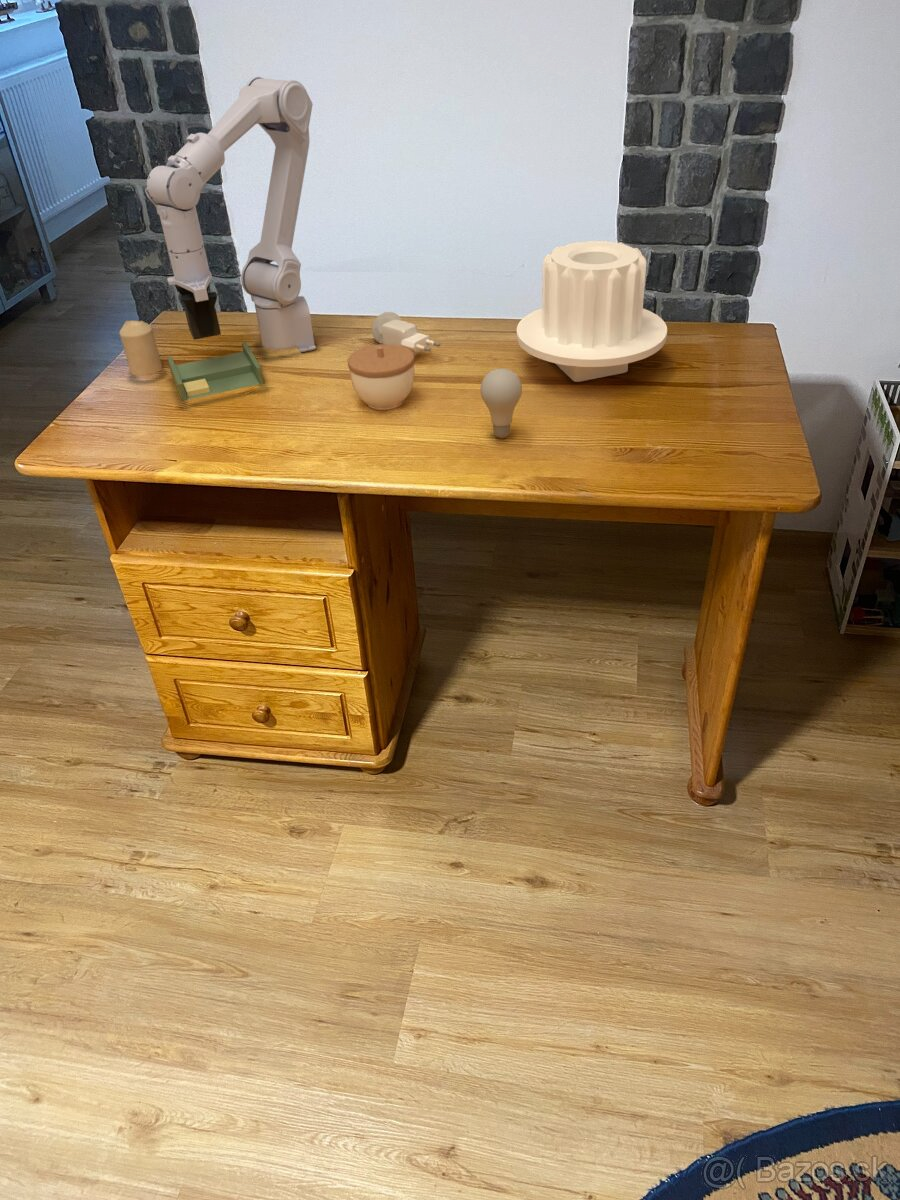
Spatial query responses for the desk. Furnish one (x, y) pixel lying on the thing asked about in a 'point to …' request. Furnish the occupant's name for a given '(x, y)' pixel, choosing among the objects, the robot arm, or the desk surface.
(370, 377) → the trinket box
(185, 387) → the note pad
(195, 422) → the desk surface
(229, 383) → the shelf
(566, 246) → the flanged gear
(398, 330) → the power adapter
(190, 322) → the holder
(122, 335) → the candle
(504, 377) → the lightbulb
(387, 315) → the grey rounded piece
